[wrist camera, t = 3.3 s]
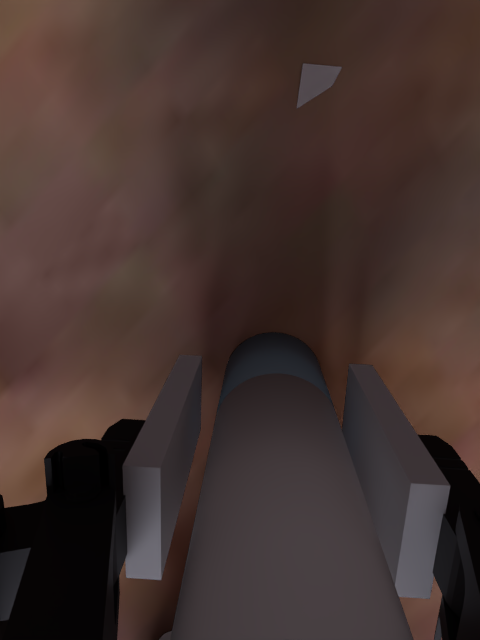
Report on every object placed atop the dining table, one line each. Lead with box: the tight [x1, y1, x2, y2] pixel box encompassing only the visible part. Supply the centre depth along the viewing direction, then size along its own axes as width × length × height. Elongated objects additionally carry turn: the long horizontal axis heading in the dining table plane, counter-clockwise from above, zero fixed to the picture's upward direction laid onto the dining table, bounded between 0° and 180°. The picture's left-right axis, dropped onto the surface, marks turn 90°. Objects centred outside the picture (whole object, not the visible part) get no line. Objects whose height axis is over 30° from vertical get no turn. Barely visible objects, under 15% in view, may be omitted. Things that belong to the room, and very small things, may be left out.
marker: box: [170, 332, 413, 640], centre depth 11 cm, size 4×4×13 cm
